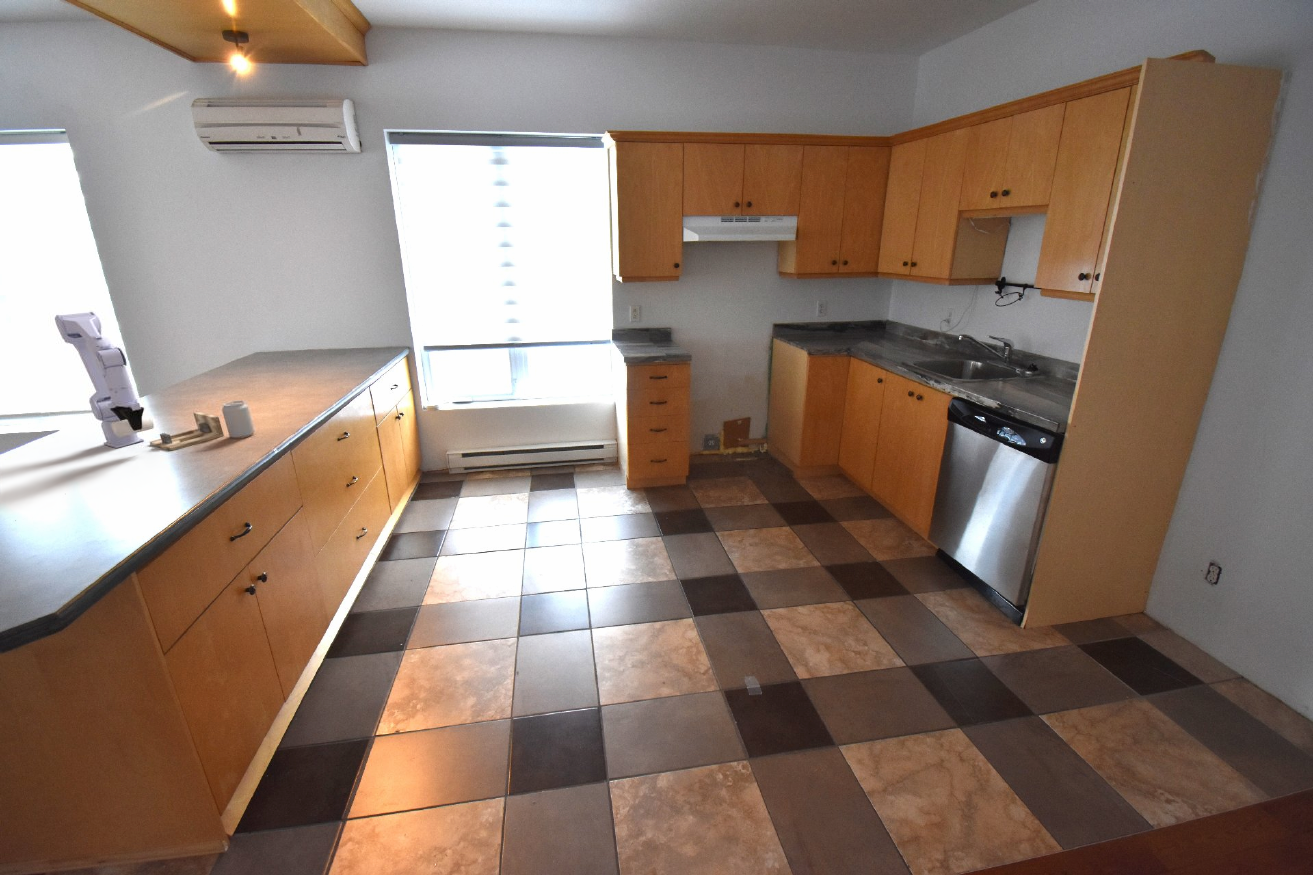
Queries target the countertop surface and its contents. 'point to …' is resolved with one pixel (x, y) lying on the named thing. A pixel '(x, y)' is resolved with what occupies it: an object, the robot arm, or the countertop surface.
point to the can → (238, 419)
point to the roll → (125, 429)
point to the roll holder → (192, 433)
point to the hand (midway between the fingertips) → (133, 428)
